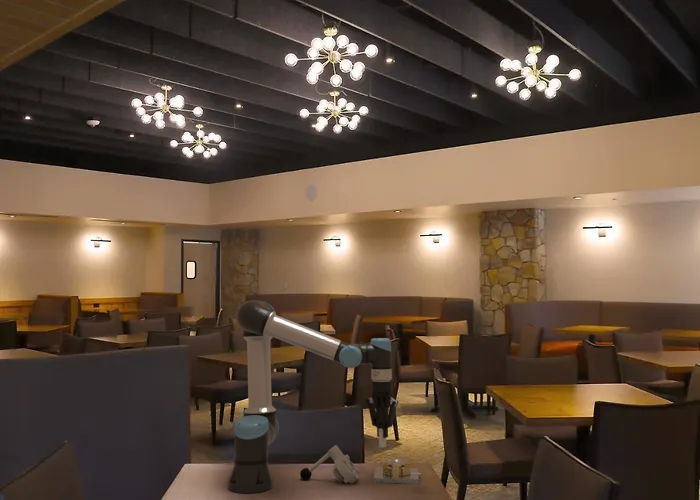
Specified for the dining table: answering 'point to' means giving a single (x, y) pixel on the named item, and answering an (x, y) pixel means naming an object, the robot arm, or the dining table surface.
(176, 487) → the dining table surface
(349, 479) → the mechanical valve
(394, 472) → the ring nut
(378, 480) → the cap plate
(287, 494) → the dining table surface
